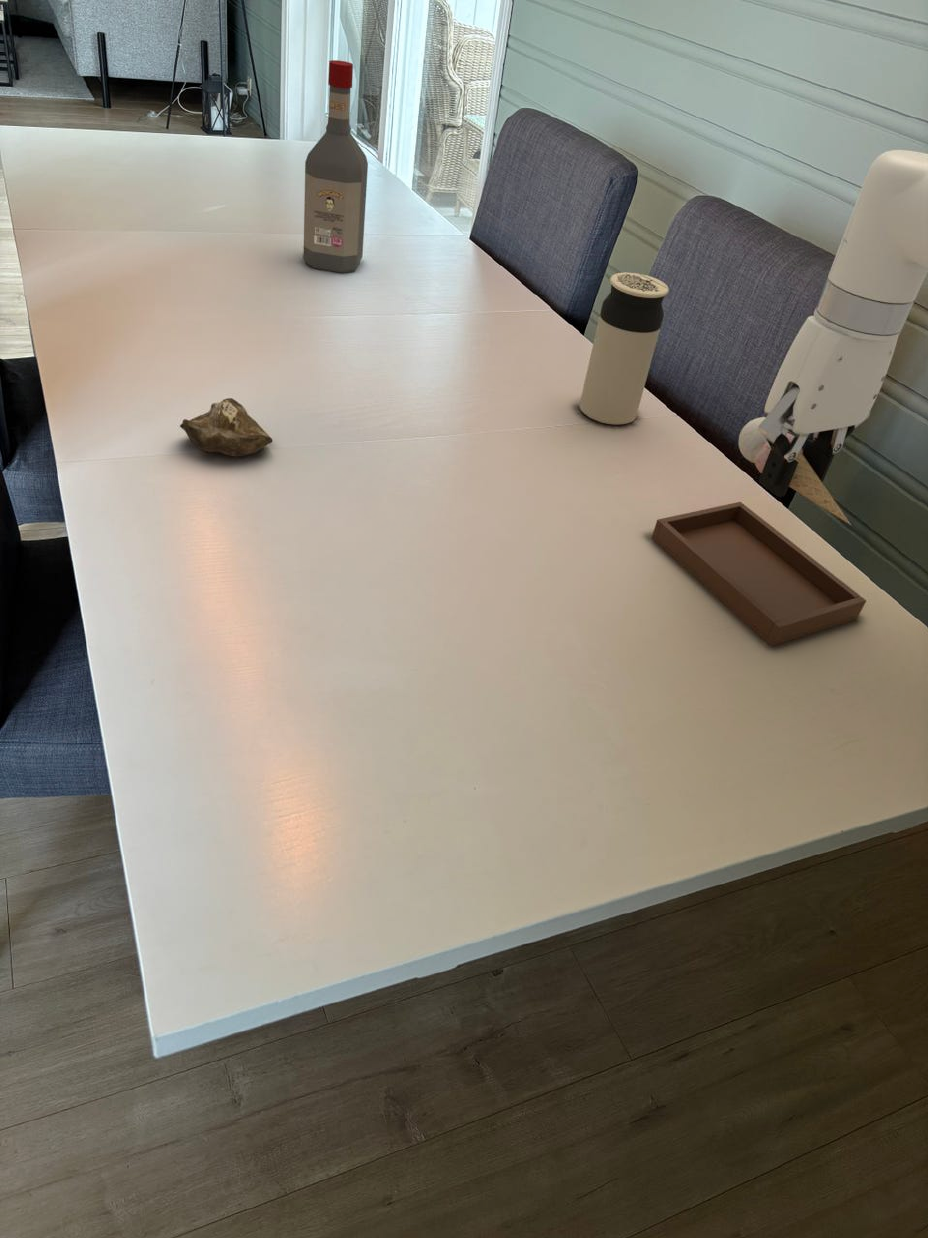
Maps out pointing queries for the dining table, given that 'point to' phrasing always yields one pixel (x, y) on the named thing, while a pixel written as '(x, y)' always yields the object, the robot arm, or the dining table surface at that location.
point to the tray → (757, 572)
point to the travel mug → (623, 348)
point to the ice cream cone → (804, 476)
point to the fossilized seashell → (226, 430)
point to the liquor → (335, 185)
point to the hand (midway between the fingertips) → (789, 484)
